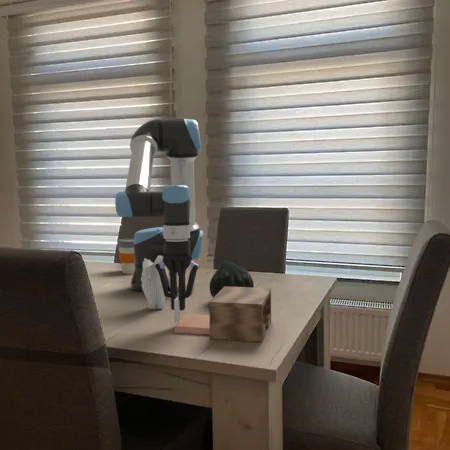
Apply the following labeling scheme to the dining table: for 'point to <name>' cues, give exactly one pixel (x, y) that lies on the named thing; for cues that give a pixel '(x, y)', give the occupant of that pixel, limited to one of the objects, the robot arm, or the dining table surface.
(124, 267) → the reusable coffee cup
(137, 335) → the dining table surface
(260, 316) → the shelf
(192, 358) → the dining table surface
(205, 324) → the tile
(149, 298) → the shell sculpture
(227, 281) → the squash
